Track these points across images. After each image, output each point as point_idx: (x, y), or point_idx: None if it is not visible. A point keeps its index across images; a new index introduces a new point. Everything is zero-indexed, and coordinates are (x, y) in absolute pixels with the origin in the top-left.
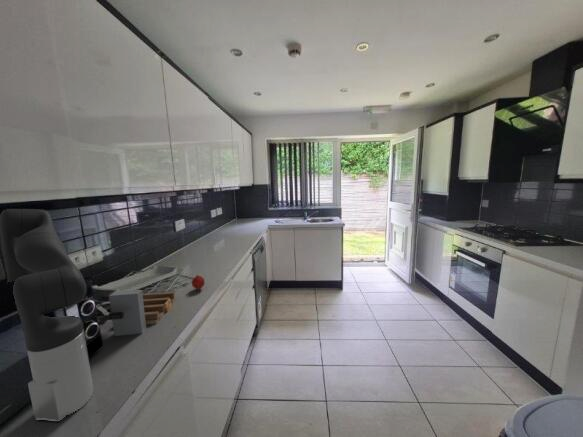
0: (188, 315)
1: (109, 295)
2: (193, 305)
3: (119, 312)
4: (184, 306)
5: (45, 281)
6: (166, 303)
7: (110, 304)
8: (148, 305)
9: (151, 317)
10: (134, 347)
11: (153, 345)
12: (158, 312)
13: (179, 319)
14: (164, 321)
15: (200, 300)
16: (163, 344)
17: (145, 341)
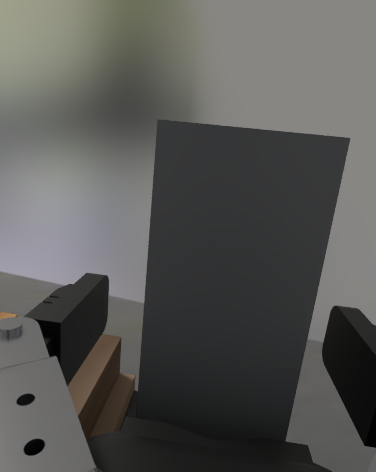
0: (121, 306)
1: (335, 138)
2: (41, 296)
3: (356, 314)
4: (21, 315)
5: None
6: (9, 315)
7: (308, 321)
8: None
9: (109, 381)
10: (353, 443)
11: (321, 375)
12: (102, 338)
13: (139, 324)
14: (128, 364)
15: (13, 283)
16: (309, 350)
17: (297, 407)
